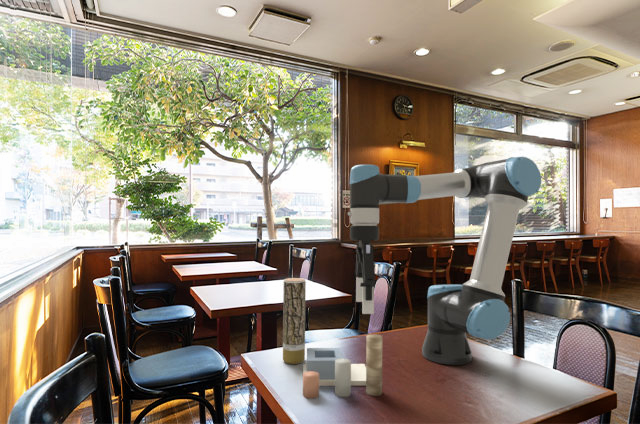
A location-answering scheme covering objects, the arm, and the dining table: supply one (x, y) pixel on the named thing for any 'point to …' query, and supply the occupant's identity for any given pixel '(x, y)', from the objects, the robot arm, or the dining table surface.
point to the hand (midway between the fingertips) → (364, 307)
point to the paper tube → (294, 320)
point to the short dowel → (311, 384)
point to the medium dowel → (342, 377)
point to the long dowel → (374, 364)
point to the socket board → (354, 376)
